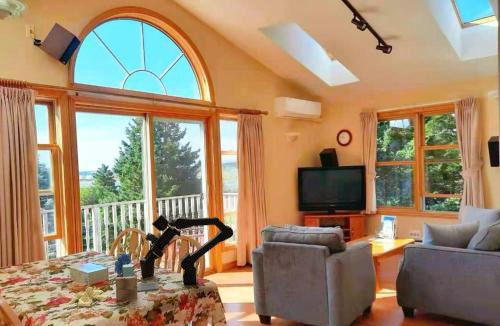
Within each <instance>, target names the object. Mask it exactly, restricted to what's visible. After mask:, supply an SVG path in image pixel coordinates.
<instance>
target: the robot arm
mask: <svg viewBox="0 0 500 326" xmlns="http://www.w3.org/2000/svg"><path fill="white" fill-rule="evenodd" d="M151 225H152V226H153V227H154V228H155V229H156V230H158V232H162V234H159V235H156V234H153V233H150V232H147V233H146V236H145V238H144V240H146V241H147V242H148V241H149V242H150V243H149V250H148V251H147V252H146V254H145V256H144V257H145V258H144V259H146V260H145V262H144V263H145V264H147V263H149V262H151V261H153V260H155V261H156V260H158V259H160V258H162V257H163V256H164V249H165V248H166V247H167V246H168V245H170V242H171V241H172V240H173V239H174V238H175V237H176V236H178V237H181V234H182V232H181V230H184V229H185V230H186V229H189V228H192V227H200V226H201V227H203V226H205V227H206V226H215V227H217V229H218V232H216V234H215V235H214V236H213V237H211V238H210V239H209V240H208V241H206V242H205V243H203V244H202V245H201V246H200V247H199V248H197V249H196V250H194V251H193V252H191V253H190V252H189V251H187V252H186V253H185V254H184V255H181V258H180V262H179V265H180V268H181V269H182V270H184V271H183V274H182V283H183V286H188V285H189V286H191V285H192V286H193V285H197V284H198V280H197V279H198V277H197V276H198V274H197V267H196V263H197V261H198V260H199V259H201V257H203V256H204V255H205V254H207V253H208V252H209V251H211V250H212V249H214V248H215V247H216V246H217V245H219V244H220V243H222V242H225V241H226V240H229V239H230V238H232V237H233V236H234V230H233V228H232V227H230V225H225V223H223V222H222V221H221V219H219V217H217V216H213V217H211V216H210V217H196V218H195V217H193V218H192V217H191V218H190V217H186V216H185V217H183V216H177V217H175V219H171V220H168V219H167V218H166V217H165V216H164V215H163V214H160V215H158V217H157V218H155V219H154V221H152V223H151Z"/></svg>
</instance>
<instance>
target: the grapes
mask: <svg viewBox="0 0 500 326" xmlns="http://www.w3.org/2000/svg"><path fill="white" fill-rule="evenodd" d="M127 264H132V259H131V254H130V253H127V252H122V253H121V254H120V255H118V256H117V260H116V261H115V262H114V266H115V267H114V269H113V270H114V272H116V274H117V275H118V276H120V275H123V265H127Z"/></svg>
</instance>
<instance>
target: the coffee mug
mask: <svg viewBox="0 0 500 326" xmlns="http://www.w3.org/2000/svg"><path fill="white" fill-rule="evenodd" d="M144 258H145V256H142V257H139V259H138V260H139V266H140V274H141V278H142V277H143V279H150V278H153V277H154V276H155V267H156V266H155V265H156V259H155V260H153V261H151V262H149V263H147V264H145V263H144V262H145V260H146V259H144Z"/></svg>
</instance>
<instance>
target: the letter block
mask: <svg viewBox="0 0 500 326" xmlns="http://www.w3.org/2000/svg"><path fill="white" fill-rule="evenodd" d="M134 266H135V265H134V263H130V264H127V265H123V274H122V277H131V276H135V268H134Z"/></svg>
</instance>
